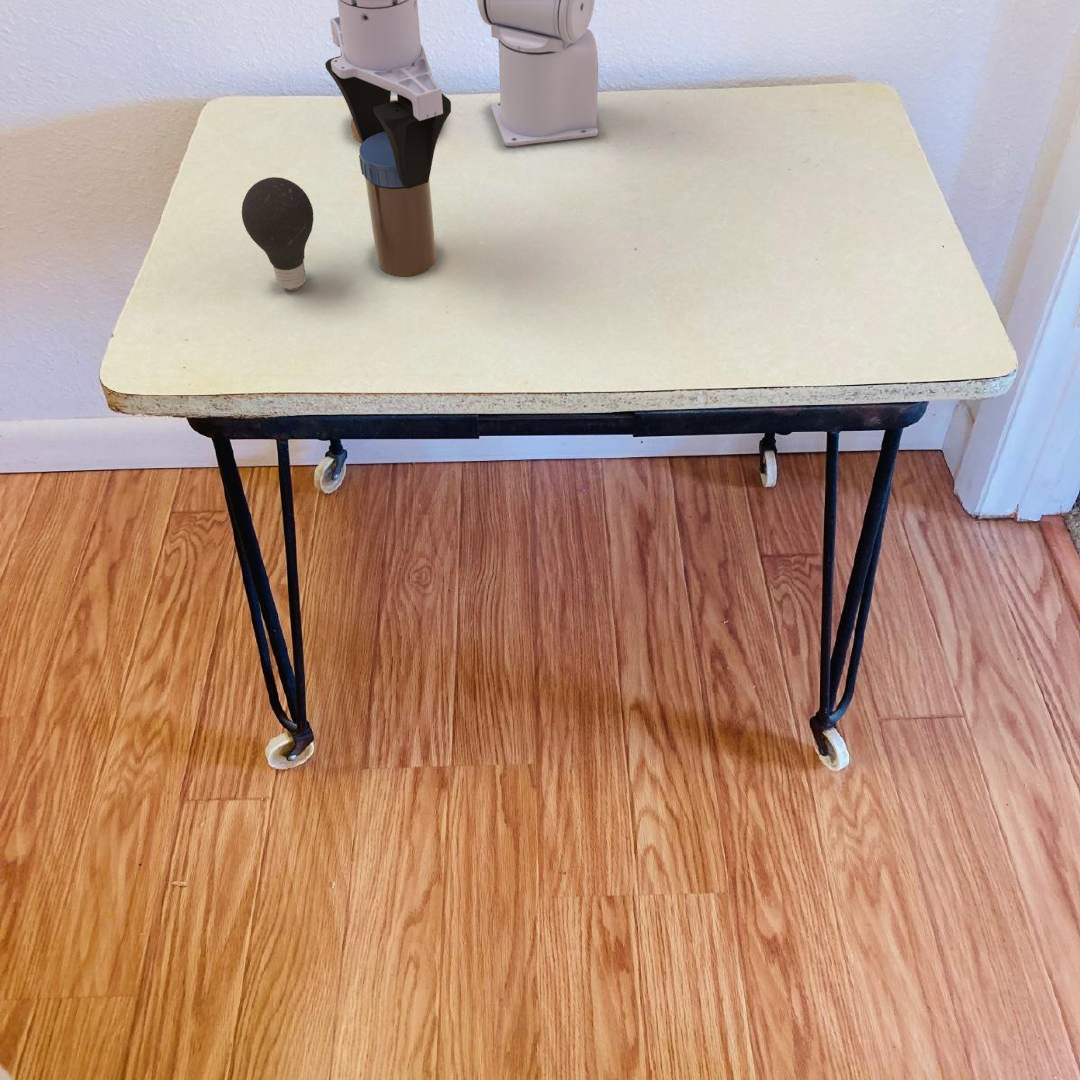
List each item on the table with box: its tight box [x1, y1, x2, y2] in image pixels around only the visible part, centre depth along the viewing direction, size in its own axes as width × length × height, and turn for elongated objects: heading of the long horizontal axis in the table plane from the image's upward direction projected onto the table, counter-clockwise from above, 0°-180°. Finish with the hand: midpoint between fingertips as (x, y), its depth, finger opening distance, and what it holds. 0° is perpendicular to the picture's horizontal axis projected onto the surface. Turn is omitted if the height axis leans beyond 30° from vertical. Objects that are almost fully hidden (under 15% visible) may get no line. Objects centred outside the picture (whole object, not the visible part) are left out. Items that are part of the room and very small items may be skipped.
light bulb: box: [241, 176, 314, 291], centre depth 89 cm, size 6×6×10 cm
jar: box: [365, 179, 437, 277], centre depth 91 cm, size 5×5×10 cm
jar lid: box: [358, 132, 404, 188], centre depth 88 cm, size 6×6×2 cm
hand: (395, 163), depth 88 cm, fingers open, 6 cm apart
